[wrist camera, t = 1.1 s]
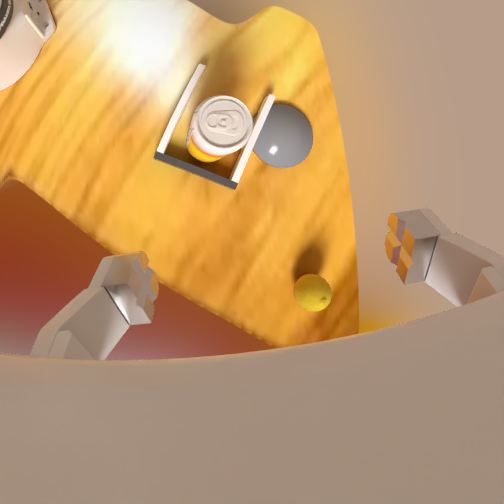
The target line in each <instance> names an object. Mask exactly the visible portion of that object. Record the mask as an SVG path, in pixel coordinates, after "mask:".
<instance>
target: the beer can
mask: <svg viewBox="0 0 504 504" xmlns="http://www.w3.org/2000/svg"><path fill="white" fill-rule="evenodd" d="M252 132H253V118H252V115H251V112H250V110H249V109H248V107H247V106H246V105H245V104H244V103H243V102H242V101H240V100H239V99H237V98H235V97H232V96H228V95H216V96H212V97H210V98H208V99H206V100H204V101H203V102H202V103H200V104H199V105H198V107H197V108H196V109H195V111H194V113H193V116H192V120H191V123H190V127H189V131H188V135H187V139H186V144H187V149H188V151H189V153H190V154H191V155H192V156H193V157H194V158H195V159H197V160H199V161H201V162H214V161H216V160H219V159H221V158H223V157H225V156H227V155H229V154H231V153H233V152H235V151H237V150H239V149H240V148H242V147H243V146H244V145H245V144H246V143H247V142H248V140H249V139H250V137H251V135H252Z"/></svg>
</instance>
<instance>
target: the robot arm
mask: <svg viewBox="0 0 504 504" xmlns="http://www.w3.org/2000/svg"><path fill="white" fill-rule="evenodd" d="M47 25H48V26H47ZM46 26H47V27H46ZM55 29H56V25H55V23H54V20H53V17H52V15H51V12H50V9H49V6H48V3H47V0H0V90H3V89H5V88H7V87H9V86H11V85H12V84H14V83H15V82H16V81H17V80H19V79H20V78H21V77H22V76H23V75H24V74H25V73H26V71H27V70H28V69H29V68H30V67H31V65H32V64H33V62H34V61H35V59H36V58H37V56H38V54H39V52H40V50H41V48H42V46H43V44H44V43H45V42H46V41H47V40H48V39H49V37H50V36H51V35H52V34H53V33H54V31H55ZM388 226H389V227H390V229H391V230H390V231H389V232H388V234H387V235H386V241H385V246H386V253H387V256H388V258H389V260H390V262H391V263H393V264H395V265H397V269H396V272H397V273H398V275H399V277H400V278H401V280H402V282H403V284H404V285H405V284H410V283H415V282H420V281H425V282H426V283H427V284H429V285H430V286H431V287H433V288H434V289H435V290H437V291H438V292H439V293H441V294H442V295H444V296H445V297H446V298H447V299H449V300H450V301H451V302H452V303H454V304H455V305H456V306H457V307H456V308H453V309H450V310H447V311H444V312H441V313H437V314H434V315H431V316H427V317H424V318H421V319H417V320H413V321H410V322H406V323H402V324H398V325H394V326H390V327H386V328H382V329H378V330H374V331H370V332H365V333H360V334H356V335H351V336H346V337H341V338H336V339H331V340H326V341H321V342H315V343H309V344H304V345H298V346H291V347H285V348H278V349H271V350H264V351H256V352H247V353H239V354H229V355H219V356H207V357H194V358H179V359H159V360H104V359H105V358H106V357H107V355H108V354H109V353H110V351H111V350H112V349H113V347H114V346H115V345H116V343H117V342H118V341H119V339H120V338H121V336H122V335H123V334H124V333H125V332H126V330H127V329H128V328H129V325H135V324H144V323H151V321H152V317H153V312H154V308H155V307H154V305H153V304H152V302H153V301H154V300H155V299H156V298H157V296H158V281H157V277H156V274H155V272H154V271H153V270H152V269H150V268H149V267H148V263H149V259H148V257H147V255H146V253H144V252H143V251H139V252H133V253H126V254H120V255H113V256H108V257H105V258H103V259H102V261H101V263H100V265H99V267H98V269H97V271H96V273H95V275H94V277H93V279H92V281H91V283H90V285H89V288H88V289H84V290H83V291H82V292H81V293H80V294H79V295H77V296H76V297H75V298H74V299H73V300H72V301H71V302H70V303H69V304H67V305H66V306H65V307H64V308H63V309H62V310H61V311H60V312H59V313H58V314H57V315H56V316H55V317H54V318H52V319H51V320H50V321H49V322H48V323H47V324H46V325H45V326H44V327H43V328H42V329H41V330H40V332H39V334H38V336H37V339H36V341H35V343H34V346H33V348H32V351H31V353H30V356H24V355H15V354H6V353H0V504H504V257H503V256H501V255H500V254H498V253H496V252H494V251H492V250H490V249H488V248H486V247H484V246H482V245H480V244H478V243H476V242H474V241H472V240H470V239H468V238H466V237H464V236H462V235H460V234H457V233H452V232H451V231H450V229H449V228H448V227H447V226H446V225H445V224H444V223H443V222H442V221H441V220H440V219H439V217H438V216H437V215H436V214H435V213H434V212H433V211H432V210H431V209H429V208H423V209H417V210H412V211H406V212H399V213H393V214H390V216H389V219H388Z"/></svg>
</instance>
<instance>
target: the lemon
mask: <svg viewBox="0 0 504 504" xmlns="http://www.w3.org/2000/svg"><path fill="white" fill-rule="evenodd" d="M294 296H295V299H296V301H297V302H298V303H299V305H301V306H302V307H303V308H305V309H307V310H310V311H320V310H322V309H324V308H325V307H327V305H328V304H329V303H330V301H331V297H332V292H331V288H330V286H329V284H328V283H327V281H326V280H325V279H324V278H322V277H321V276H319V275H316V274H306V275H303V276H301V277H300V278H299V279H298V280H297V281H296V283H295V285H294Z"/></svg>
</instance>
